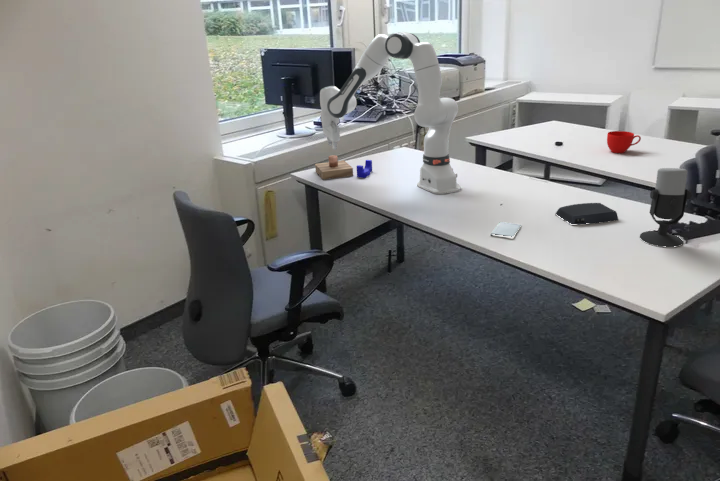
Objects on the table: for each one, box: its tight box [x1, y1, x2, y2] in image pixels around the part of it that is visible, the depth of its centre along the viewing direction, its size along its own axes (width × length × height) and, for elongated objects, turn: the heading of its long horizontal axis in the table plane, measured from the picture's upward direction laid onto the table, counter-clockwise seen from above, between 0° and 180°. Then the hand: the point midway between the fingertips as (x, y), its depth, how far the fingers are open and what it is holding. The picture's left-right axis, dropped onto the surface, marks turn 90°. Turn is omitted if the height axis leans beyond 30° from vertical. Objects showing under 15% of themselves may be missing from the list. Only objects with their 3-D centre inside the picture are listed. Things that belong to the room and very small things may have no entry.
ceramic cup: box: [606, 130, 642, 154], centre depth 275 cm, size 13×17×10 cm
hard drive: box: [490, 221, 522, 237], centre depth 187 cm, size 2×8×12 cm
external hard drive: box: [555, 202, 619, 225], centre depth 195 cm, size 13×19×4 cm
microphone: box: [639, 167, 693, 247], centre depth 169 cm, size 13×13×25 cm
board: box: [314, 160, 354, 180], centre depth 264 cm, size 16×16×4 cm
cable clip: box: [356, 159, 373, 179], centre depth 259 cm, size 12×4×6 cm, turn 154°
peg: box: [328, 154, 339, 167], centre depth 262 cm, size 5×5×8 cm
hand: (332, 147), depth 259 cm, fingers open, 8 cm apart
